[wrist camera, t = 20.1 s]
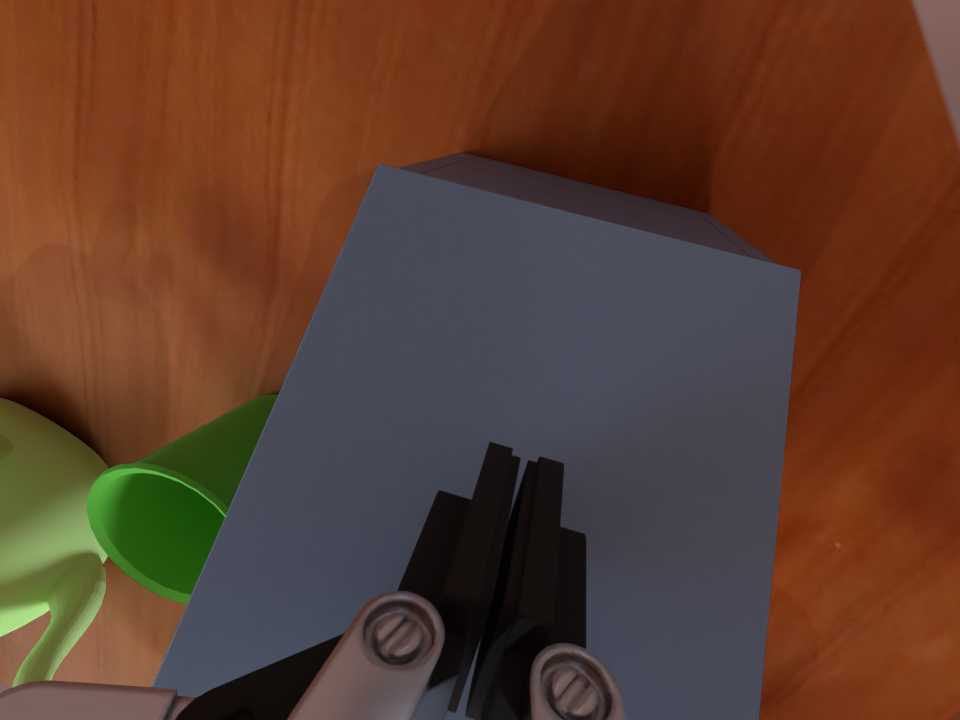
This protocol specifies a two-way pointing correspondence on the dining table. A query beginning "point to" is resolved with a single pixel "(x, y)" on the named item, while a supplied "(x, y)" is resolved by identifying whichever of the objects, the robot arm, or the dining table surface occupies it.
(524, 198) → the chest
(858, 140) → the dining table surface
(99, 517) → the cup
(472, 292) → the lid
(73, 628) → the teapot
